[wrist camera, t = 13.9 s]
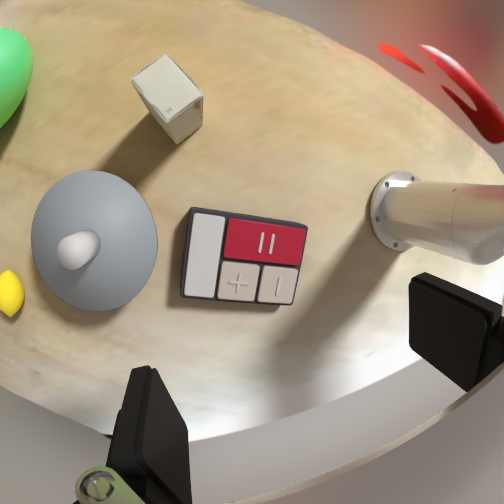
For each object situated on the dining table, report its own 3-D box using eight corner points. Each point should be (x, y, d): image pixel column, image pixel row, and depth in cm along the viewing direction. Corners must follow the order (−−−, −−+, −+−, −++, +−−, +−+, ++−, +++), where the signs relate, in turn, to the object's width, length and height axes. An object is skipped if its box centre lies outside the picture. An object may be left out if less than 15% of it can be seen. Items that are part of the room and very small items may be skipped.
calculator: (294, 308, 39) (179, 299, 35) (284, 297, 43) (179, 288, 39) (311, 226, 37) (190, 208, 33) (298, 222, 41) (189, 206, 37)
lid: (135, 150, 29) (123, 142, 23) (176, 288, 33) (173, 308, 27) (20, 199, 27) (-6, 202, 21) (62, 321, 31) (44, 342, 25)
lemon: (5, 265, 34) (-14, 269, 28) (30, 270, 35) (12, 275, 29) (5, 308, 34) (-12, 317, 29) (30, 315, 35) (14, 325, 30)
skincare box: (203, 125, 35) (207, 96, 23) (176, 146, 35) (168, 126, 23) (174, 90, 33) (166, 50, 22) (147, 110, 33) (128, 78, 22)
